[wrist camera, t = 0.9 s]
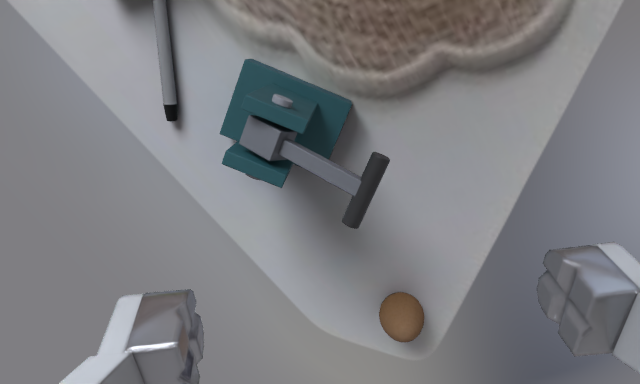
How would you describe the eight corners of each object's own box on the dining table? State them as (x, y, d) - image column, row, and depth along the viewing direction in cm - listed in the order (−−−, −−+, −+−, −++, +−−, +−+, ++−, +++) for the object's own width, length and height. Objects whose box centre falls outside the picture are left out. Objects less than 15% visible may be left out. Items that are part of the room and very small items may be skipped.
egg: (420, 319, 49) (429, 354, 44) (378, 321, 50) (382, 356, 44) (419, 282, 48) (429, 313, 42) (376, 284, 48) (380, 315, 43)
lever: (395, 158, 30) (383, 160, 27) (364, 225, 31) (350, 232, 29) (274, 97, 33) (255, 95, 31) (251, 160, 35) (231, 161, 32)
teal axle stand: (351, 100, 43) (354, 123, 30) (323, 167, 45) (314, 216, 32) (251, 58, 42) (209, 62, 29) (227, 128, 44) (177, 161, 31)
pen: (165, 120, 44) (164, 121, 43) (143, -73, 39) (142, -77, 38) (179, 119, 45) (179, 121, 43) (159, -72, 40) (158, -76, 38)
